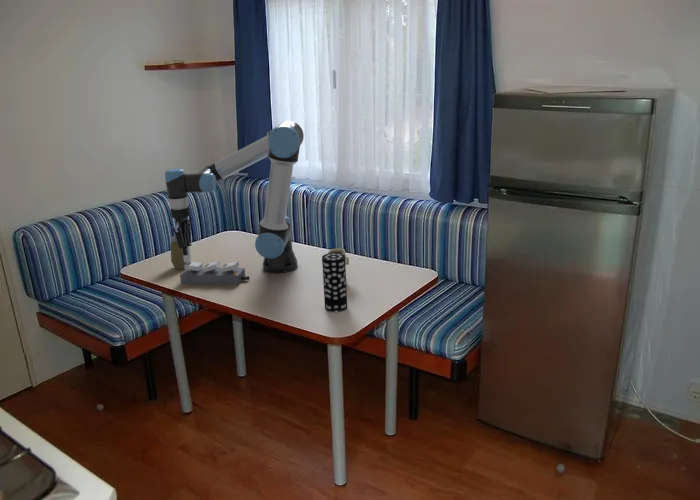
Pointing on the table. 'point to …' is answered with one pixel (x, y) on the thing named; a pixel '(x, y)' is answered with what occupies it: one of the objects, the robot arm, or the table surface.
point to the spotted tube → (334, 282)
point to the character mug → (341, 253)
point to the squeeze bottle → (177, 254)
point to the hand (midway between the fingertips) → (187, 261)
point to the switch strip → (214, 276)
